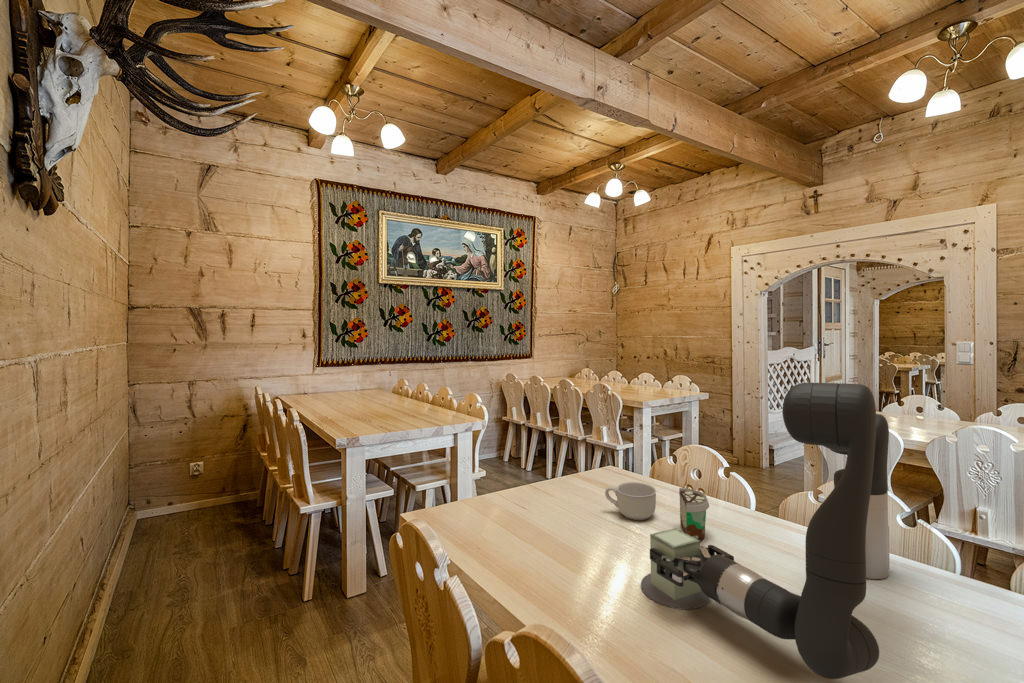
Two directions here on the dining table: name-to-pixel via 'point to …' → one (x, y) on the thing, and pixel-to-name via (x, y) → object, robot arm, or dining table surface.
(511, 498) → the dining table surface
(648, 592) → the mat
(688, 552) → the upright green box
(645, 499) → the teacup
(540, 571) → the dining table surface
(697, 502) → the food container
